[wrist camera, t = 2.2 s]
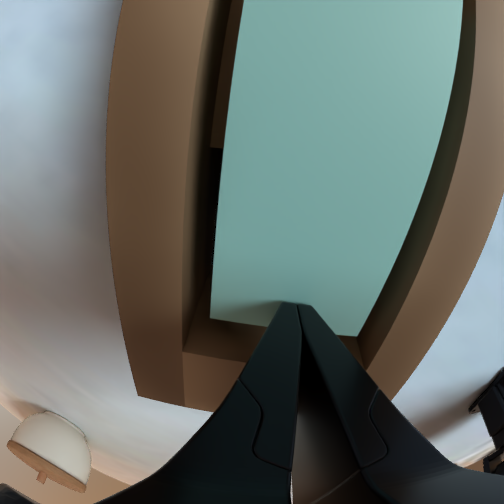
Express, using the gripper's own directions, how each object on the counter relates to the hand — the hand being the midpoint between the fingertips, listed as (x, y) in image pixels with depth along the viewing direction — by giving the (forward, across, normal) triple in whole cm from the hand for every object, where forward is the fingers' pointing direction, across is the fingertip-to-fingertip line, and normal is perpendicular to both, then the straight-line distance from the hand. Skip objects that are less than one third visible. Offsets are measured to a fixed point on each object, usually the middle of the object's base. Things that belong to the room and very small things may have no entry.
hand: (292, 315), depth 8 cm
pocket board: (+5, 0, -5) cm, 7 cm away
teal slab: (+2, 0, -5) cm, 5 cm away
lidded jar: (+5, +21, +29) cm, 37 cm away
